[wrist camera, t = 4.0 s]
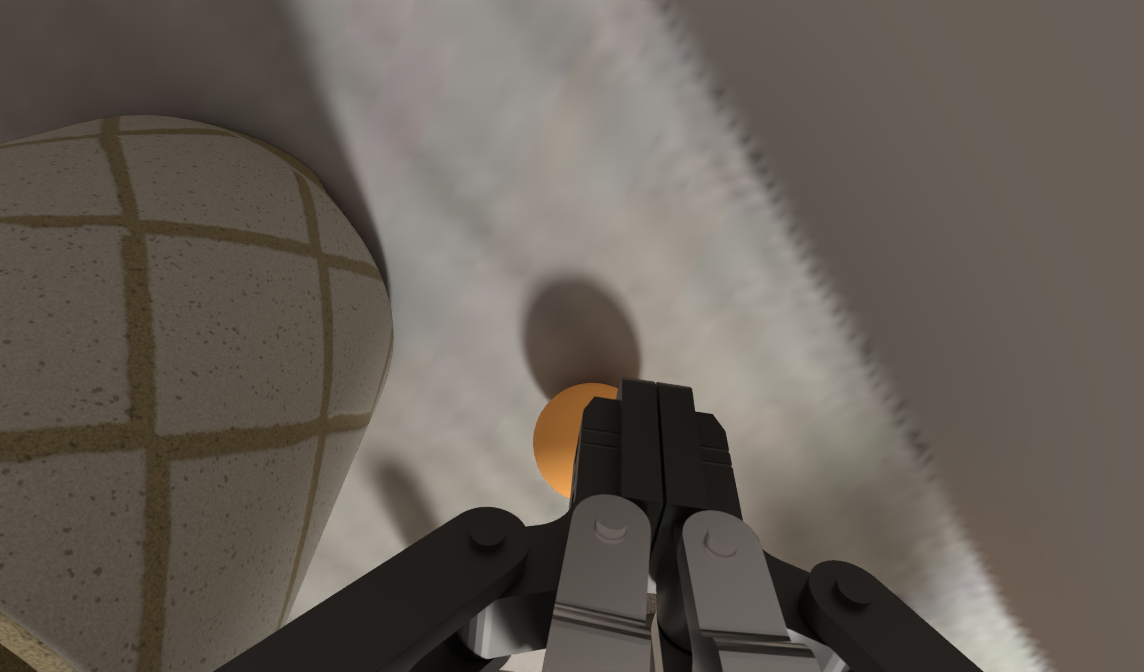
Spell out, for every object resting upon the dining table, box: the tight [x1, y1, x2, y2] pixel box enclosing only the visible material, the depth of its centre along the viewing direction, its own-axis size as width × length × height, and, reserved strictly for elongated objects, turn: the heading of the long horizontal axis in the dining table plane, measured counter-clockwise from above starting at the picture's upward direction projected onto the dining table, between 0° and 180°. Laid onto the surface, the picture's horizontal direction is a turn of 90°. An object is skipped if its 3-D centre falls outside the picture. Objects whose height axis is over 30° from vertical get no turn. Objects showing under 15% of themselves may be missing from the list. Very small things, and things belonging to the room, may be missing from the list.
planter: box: [0, 115, 394, 672], centre depth 23 cm, size 19×19×20 cm
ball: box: [533, 383, 618, 499], centre depth 30 cm, size 5×5×5 cm
